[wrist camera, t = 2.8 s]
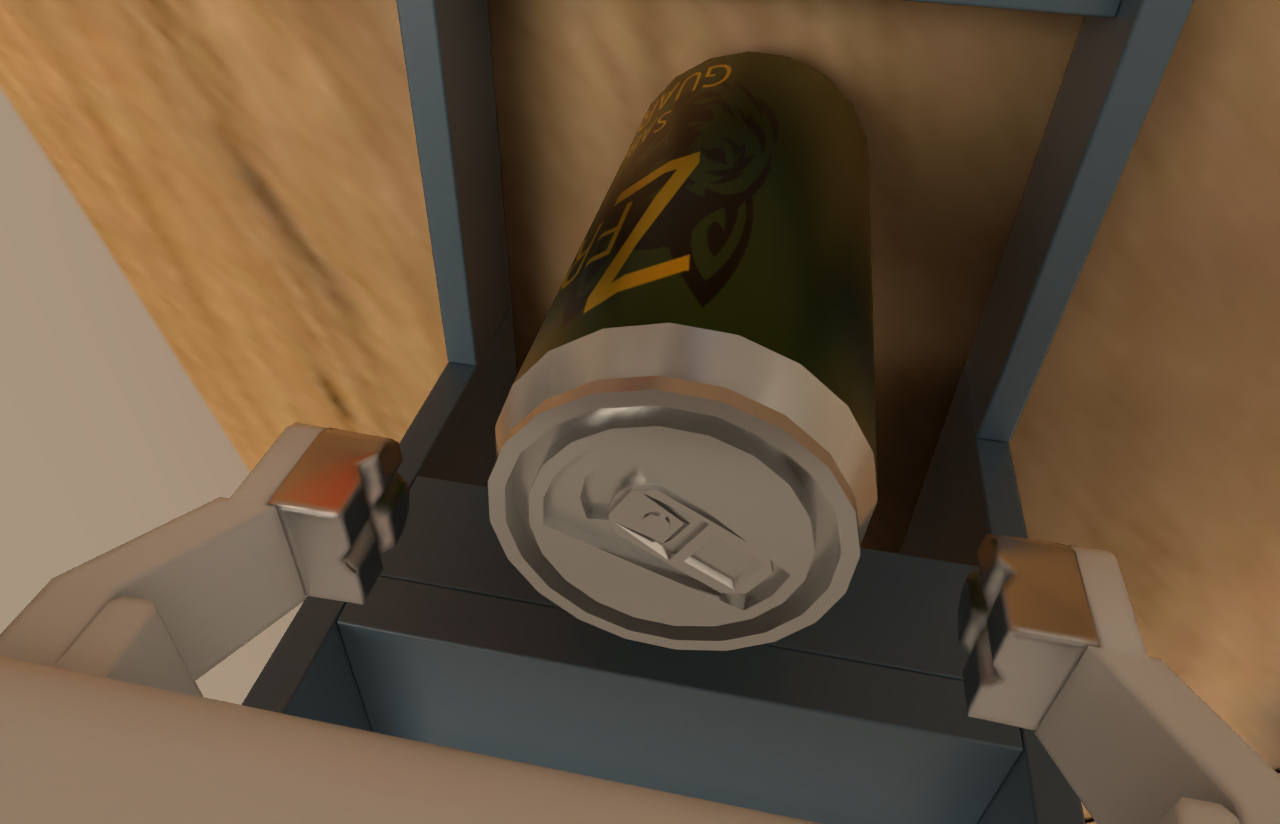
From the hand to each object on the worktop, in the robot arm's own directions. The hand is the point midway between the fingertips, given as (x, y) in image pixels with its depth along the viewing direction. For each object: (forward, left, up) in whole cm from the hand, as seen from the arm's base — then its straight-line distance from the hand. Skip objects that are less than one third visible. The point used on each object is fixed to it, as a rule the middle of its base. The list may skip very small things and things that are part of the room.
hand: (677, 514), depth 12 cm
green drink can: (0, 0, -12) cm, 12 cm away
